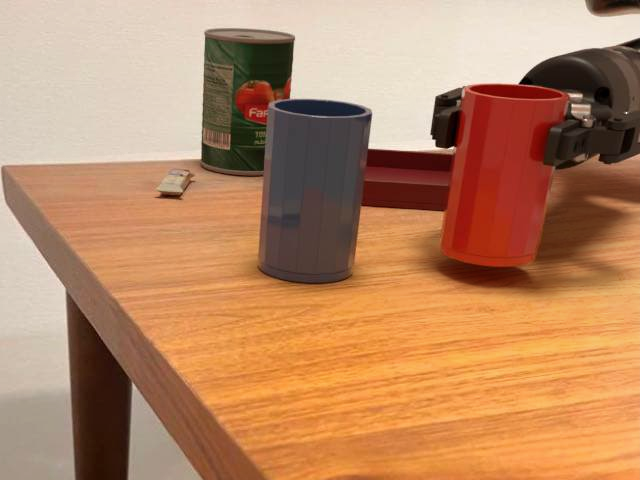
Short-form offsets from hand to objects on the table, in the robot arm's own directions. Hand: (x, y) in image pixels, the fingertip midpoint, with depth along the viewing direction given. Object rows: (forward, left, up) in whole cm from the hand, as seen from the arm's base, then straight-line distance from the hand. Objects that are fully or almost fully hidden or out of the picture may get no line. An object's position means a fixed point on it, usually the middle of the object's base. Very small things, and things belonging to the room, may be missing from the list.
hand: (495, 139), depth 60 cm
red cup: (-1, -2, -7) cm, 8 cm away
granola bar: (+22, -19, -9) cm, 31 cm away
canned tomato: (+17, -29, -9) cm, 35 cm away
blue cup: (+11, 0, -9) cm, 14 cm away
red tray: (+1, -24, -9) cm, 26 cm away
